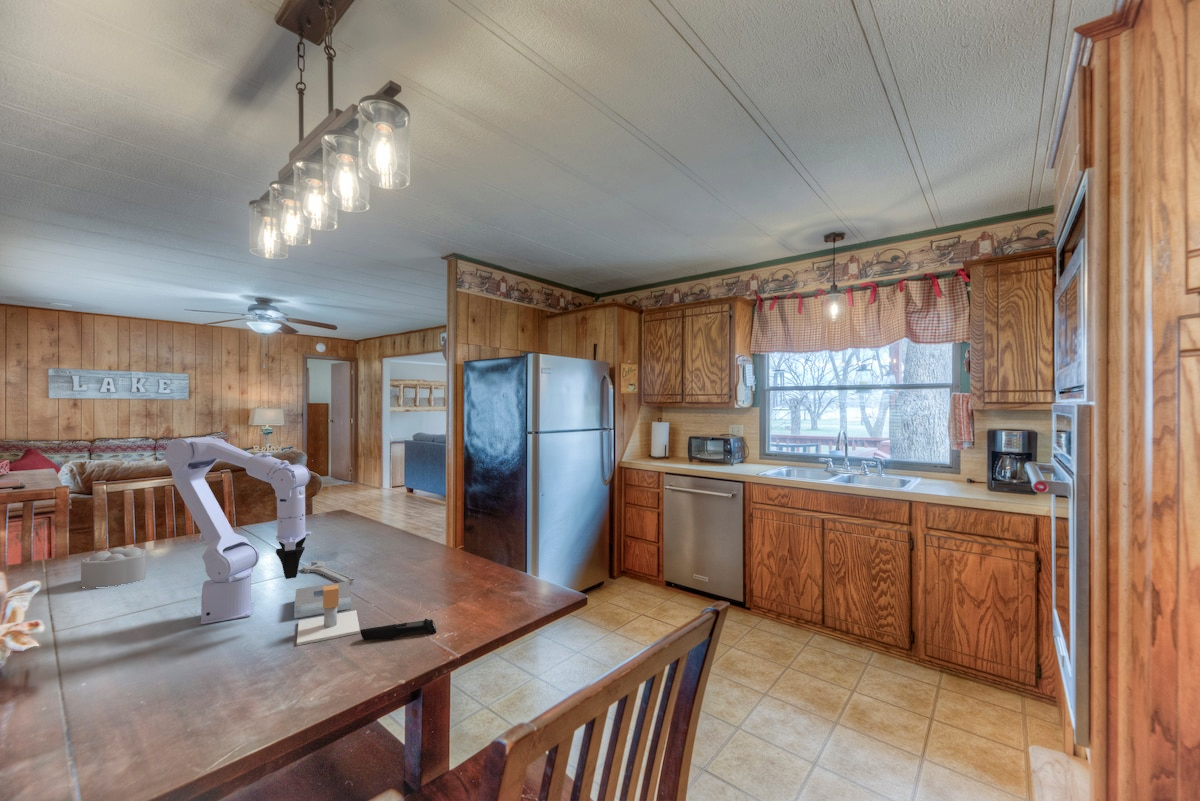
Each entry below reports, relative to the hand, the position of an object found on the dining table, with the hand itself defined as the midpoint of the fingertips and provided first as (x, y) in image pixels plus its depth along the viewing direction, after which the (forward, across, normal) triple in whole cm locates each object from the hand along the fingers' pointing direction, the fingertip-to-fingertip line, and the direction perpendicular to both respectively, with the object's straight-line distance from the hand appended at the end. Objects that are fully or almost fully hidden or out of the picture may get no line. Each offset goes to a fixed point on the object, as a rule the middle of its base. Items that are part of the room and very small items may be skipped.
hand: (291, 573), depth 119 cm
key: (+10, -11, -8) cm, 17 cm away
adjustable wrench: (+11, +27, -8) cm, 30 cm away
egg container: (+10, +49, +44) cm, 67 cm away
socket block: (+10, +4, -6) cm, 13 cm away
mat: (+11, -11, -8) cm, 17 cm away
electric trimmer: (+12, -22, -21) cm, 33 cm away
